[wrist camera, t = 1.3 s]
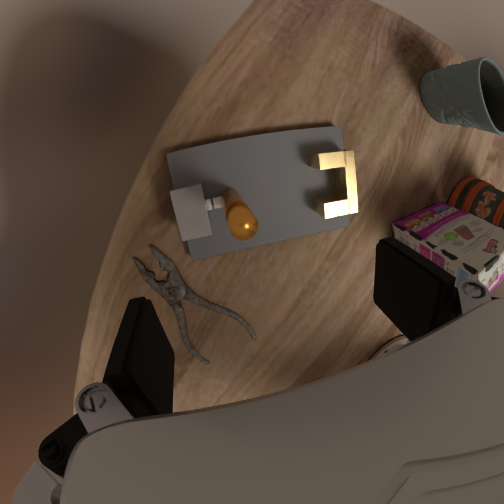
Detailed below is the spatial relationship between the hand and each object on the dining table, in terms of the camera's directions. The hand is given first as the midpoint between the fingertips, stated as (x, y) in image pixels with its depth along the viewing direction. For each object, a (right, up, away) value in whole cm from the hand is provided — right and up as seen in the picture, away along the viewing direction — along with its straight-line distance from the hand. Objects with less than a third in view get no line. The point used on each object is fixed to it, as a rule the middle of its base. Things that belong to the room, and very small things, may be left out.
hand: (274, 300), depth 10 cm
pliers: (-10, -6, +24) cm, 27 cm away
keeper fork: (+8, +10, +18) cm, 22 cm away
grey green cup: (+27, +25, +17) cm, 41 cm away
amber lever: (-5, +7, +17) cm, 19 cm away
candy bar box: (+24, +6, +25) cm, 35 cm away
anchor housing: (-7, +7, +17) cm, 20 cm away
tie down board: (0, +9, +19) cm, 21 cm away
